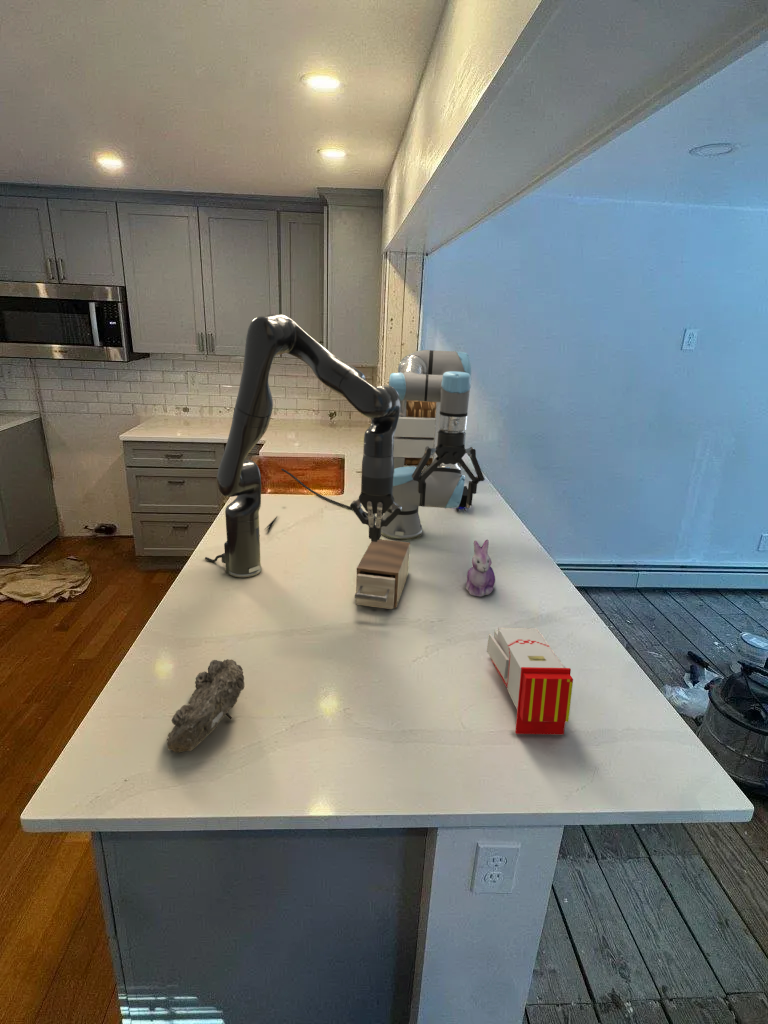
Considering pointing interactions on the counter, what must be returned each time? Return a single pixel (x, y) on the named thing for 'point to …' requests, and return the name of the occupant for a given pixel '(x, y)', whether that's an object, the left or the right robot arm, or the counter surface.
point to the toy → (532, 679)
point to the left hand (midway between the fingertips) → (374, 540)
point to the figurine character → (464, 500)
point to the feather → (270, 524)
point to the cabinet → (387, 562)
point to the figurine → (480, 572)
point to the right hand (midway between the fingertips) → (445, 504)
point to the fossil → (206, 705)
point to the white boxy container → (414, 432)
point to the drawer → (375, 590)
